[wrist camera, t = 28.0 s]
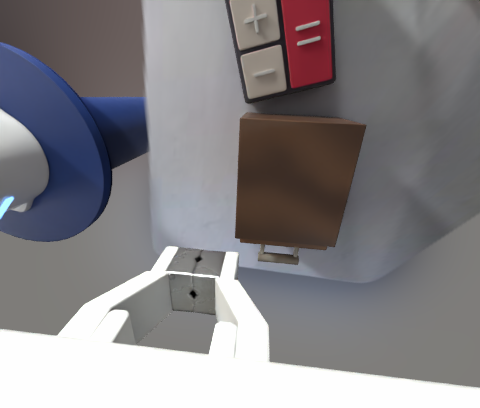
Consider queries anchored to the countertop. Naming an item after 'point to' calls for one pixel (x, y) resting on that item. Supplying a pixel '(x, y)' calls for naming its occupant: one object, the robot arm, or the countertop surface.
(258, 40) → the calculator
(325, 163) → the cabinet
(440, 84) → the countertop surface
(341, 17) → the countertop surface
